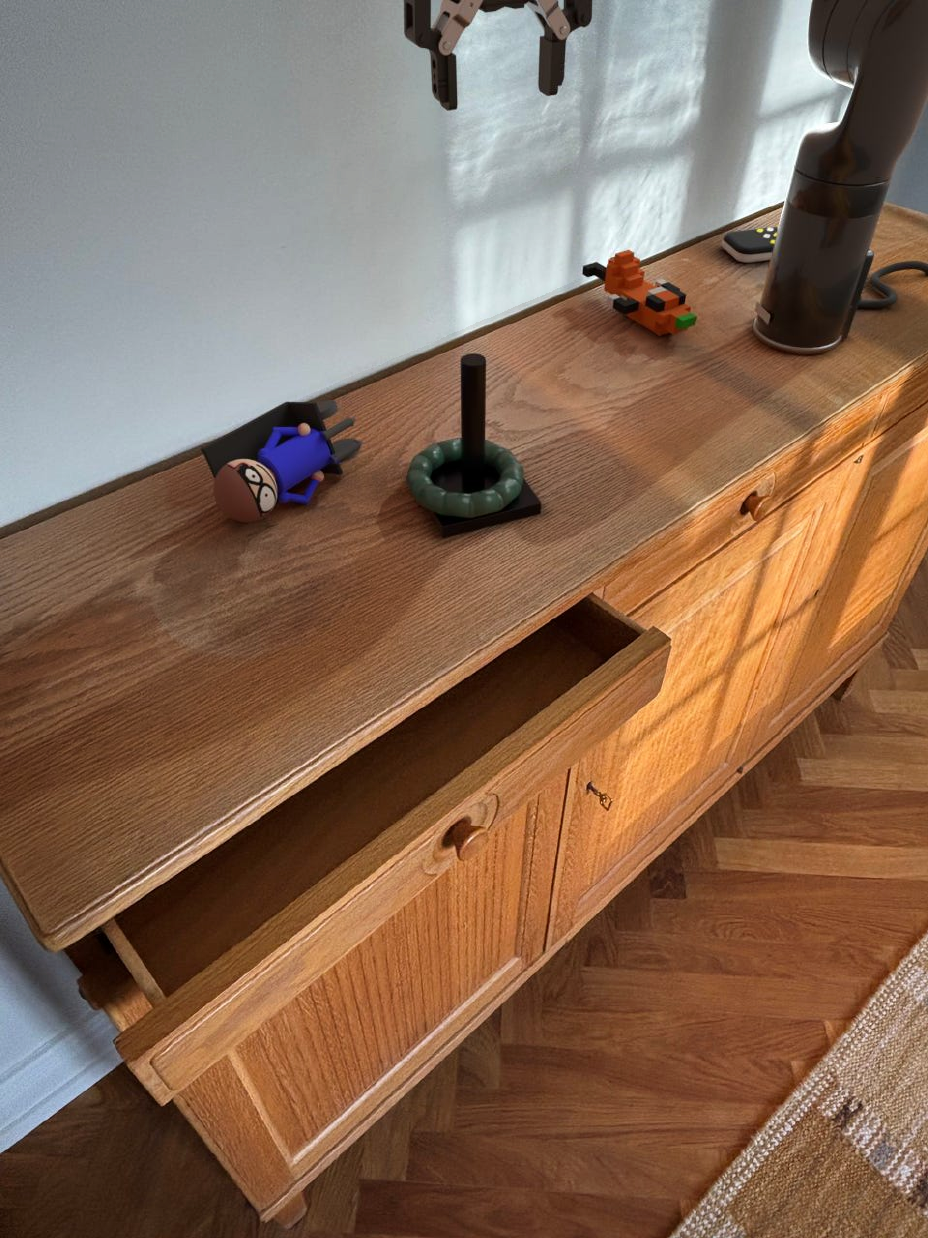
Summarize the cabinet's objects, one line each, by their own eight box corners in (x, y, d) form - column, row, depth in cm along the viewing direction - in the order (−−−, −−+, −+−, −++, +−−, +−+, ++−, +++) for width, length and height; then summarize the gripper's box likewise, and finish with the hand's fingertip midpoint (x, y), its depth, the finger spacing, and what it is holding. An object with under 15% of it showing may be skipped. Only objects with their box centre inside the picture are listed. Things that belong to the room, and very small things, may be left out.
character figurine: (378, 473, 79) (248, 556, 72) (324, 439, 82) (194, 514, 75) (375, 401, 74) (233, 483, 66) (317, 367, 77) (175, 441, 69)
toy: (632, 234, 101) (723, 282, 92) (625, 284, 106) (712, 334, 97) (577, 250, 98) (665, 300, 89) (573, 301, 103) (657, 354, 94)
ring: (496, 443, 80) (496, 424, 79) (541, 505, 74) (542, 486, 72) (393, 466, 78) (391, 447, 76) (430, 533, 71) (429, 514, 70)
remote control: (717, 245, 113) (720, 230, 112) (805, 235, 115) (809, 220, 114) (739, 265, 109) (742, 249, 108) (830, 254, 111) (834, 238, 110)
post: (500, 456, 81) (504, 323, 71) (540, 513, 75) (550, 375, 65) (409, 478, 78) (400, 343, 69) (442, 538, 73) (438, 399, 63)
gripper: (417, -168, 53) (431, 127, 64) (624, -182, 56) (601, 100, 68) (379, -176, 57) (398, 100, 69) (571, -188, 61) (559, 76, 73)
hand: (499, 100), depth 68 cm, fingers open, 8 cm apart
